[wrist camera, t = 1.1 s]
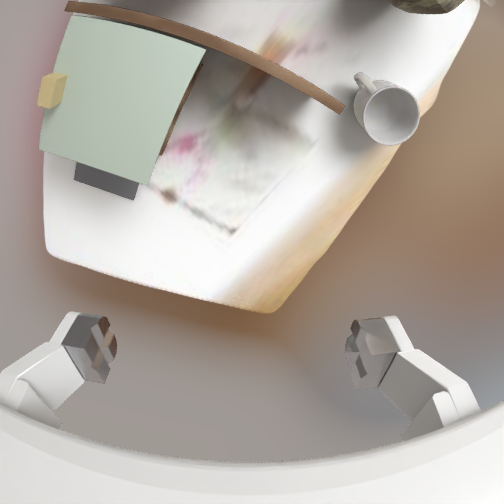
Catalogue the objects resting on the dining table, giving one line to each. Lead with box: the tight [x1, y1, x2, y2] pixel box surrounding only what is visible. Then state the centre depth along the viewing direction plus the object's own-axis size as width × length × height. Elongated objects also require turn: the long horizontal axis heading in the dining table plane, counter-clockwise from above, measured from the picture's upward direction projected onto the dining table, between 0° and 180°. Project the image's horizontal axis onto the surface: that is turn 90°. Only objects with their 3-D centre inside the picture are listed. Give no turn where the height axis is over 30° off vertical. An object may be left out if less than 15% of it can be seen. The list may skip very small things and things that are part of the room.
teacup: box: [353, 72, 420, 146], centre depth 39 cm, size 14×11×8 cm
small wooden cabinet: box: [65, 1, 345, 156], centre depth 36 cm, size 22×39×13 cm, turn 62°
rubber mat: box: [74, 162, 139, 200], centre depth 48 cm, size 10×14×1 cm
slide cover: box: [37, 15, 207, 185], centre depth 28 cm, size 20×19×4 cm
